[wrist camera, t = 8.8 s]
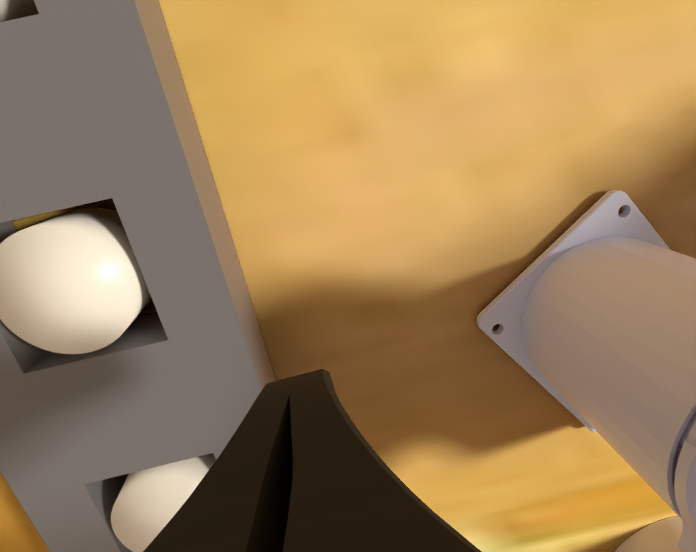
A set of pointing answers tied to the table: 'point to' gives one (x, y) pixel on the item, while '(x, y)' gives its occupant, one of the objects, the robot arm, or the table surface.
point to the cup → (655, 537)
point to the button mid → (71, 282)
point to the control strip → (151, 254)
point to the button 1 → (17, 9)
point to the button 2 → (155, 499)
